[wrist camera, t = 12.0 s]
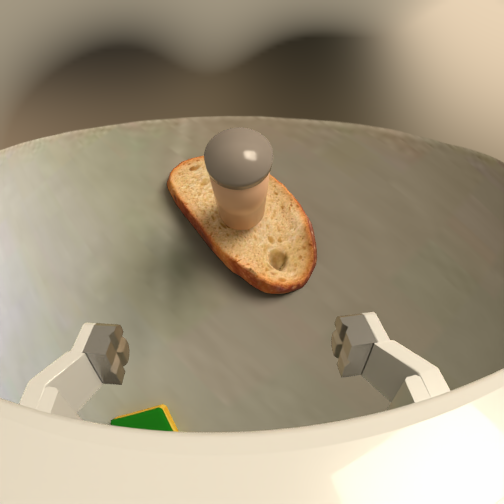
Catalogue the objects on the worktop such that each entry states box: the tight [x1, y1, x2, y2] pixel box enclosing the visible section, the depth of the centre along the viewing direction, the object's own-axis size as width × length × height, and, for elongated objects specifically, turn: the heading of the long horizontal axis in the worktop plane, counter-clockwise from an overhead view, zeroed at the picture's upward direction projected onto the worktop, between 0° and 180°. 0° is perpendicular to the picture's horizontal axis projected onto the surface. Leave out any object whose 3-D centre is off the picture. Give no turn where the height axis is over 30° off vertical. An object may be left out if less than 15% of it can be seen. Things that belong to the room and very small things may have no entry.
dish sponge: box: [111, 404, 179, 432], centre depth 27 cm, size 7×14×2 cm, turn 23°
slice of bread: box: [167, 156, 317, 294], centre depth 34 cm, size 18×18×4 cm
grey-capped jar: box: [204, 128, 273, 230], centre depth 28 cm, size 5×5×11 cm
